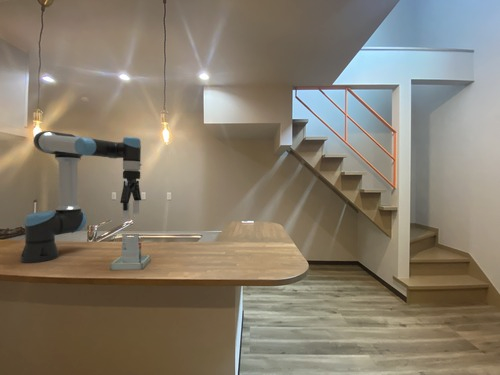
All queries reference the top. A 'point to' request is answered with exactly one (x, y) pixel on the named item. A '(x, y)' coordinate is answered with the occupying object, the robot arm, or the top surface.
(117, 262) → the tray
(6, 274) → the top surface
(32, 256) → the robot arm
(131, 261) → the ink box
